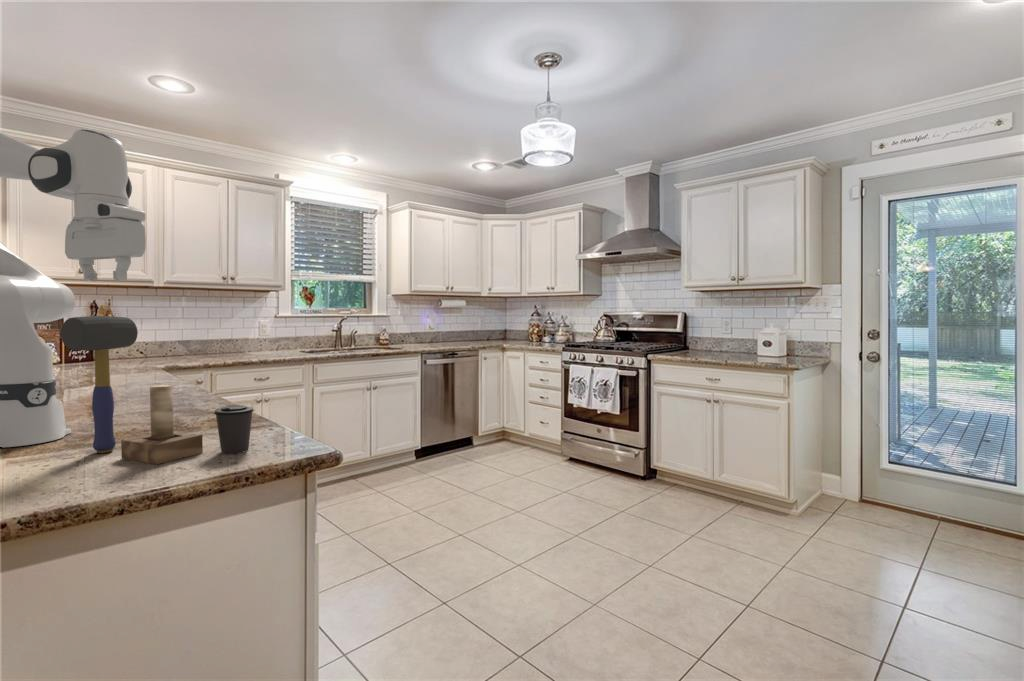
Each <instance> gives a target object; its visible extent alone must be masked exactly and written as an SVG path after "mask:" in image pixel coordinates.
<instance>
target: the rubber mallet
mask: <svg viewBox="0 0 1024 681" xmlns="http://www.w3.org/2000/svg"><path fill="white" fill-rule="evenodd" d="M138 333H139V332H138V327H137V325H136V323H135V321H134V320H132V319H130V318H129V317H126V316H112V315H89V316H87V315H86V316H74V317H70V318H68V319H66V320H65V321H64V322H63V323H62V326H61V328H60V339H61V340H62V342H63V345H65V347H66V348H68V349H70V350H73V351H94V378H95V379H94V385H95V386H94V387H93V392H92V402H91V403H92V405H91V408H92V416H93V420H94V424H93V426H94V438H93V442H92V448H93V449H94V451H96V453H98V454H106V453H110V452H113V451H114V448H115V447H116V444H117V443H116V438H115V436H114V413H115V412H114V410H115V402H114V401H115V400H114V393H113V387H112V386H111V373H110V370H111V369H110V354H109V353H110V352H109V350H114V349H122V348H128V347H131V346H132V345H134V343H135V342H136V341H137V339H138V335H139V334H138Z"/></svg>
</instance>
